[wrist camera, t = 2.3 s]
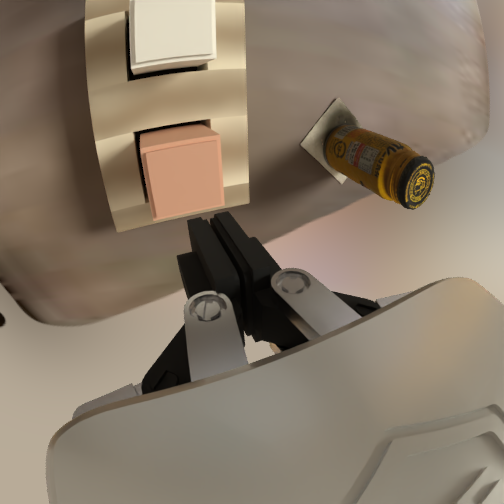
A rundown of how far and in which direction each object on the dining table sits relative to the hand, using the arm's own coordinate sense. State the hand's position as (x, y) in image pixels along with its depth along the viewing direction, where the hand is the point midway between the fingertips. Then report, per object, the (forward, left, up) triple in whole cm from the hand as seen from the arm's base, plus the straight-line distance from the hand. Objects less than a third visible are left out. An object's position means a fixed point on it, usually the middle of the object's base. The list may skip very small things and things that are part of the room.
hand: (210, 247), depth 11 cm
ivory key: (-11, 0, -13) cm, 17 cm away
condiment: (0, +19, -16) cm, 25 cm away
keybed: (-6, 0, -16) cm, 17 cm away
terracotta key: (0, 0, -14) cm, 13 cm away
